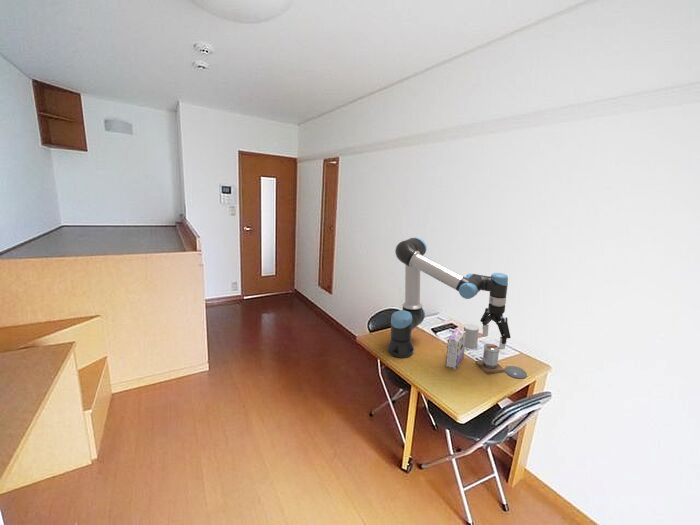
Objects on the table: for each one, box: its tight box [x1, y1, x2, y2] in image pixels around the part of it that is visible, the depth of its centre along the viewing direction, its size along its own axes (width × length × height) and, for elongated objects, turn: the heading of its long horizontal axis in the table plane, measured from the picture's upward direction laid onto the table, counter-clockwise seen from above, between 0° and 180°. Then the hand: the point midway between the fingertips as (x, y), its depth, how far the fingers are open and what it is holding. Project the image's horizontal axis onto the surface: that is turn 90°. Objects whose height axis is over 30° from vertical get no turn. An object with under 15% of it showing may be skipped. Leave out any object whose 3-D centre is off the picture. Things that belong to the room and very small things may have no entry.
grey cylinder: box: [482, 343, 501, 366], centre depth 160 cm, size 7×7×9 cm
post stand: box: [475, 359, 505, 375], centre depth 161 cm, size 10×10×10 cm
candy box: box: [445, 328, 466, 370], centre depth 166 cm, size 14×6×16 cm, turn 145°
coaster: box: [504, 365, 528, 380], centre depth 157 cm, size 10×10×1 cm
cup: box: [463, 323, 480, 350], centre depth 183 cm, size 8×8×12 cm
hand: (493, 342), depth 158 cm, fingers open, 13 cm apart
